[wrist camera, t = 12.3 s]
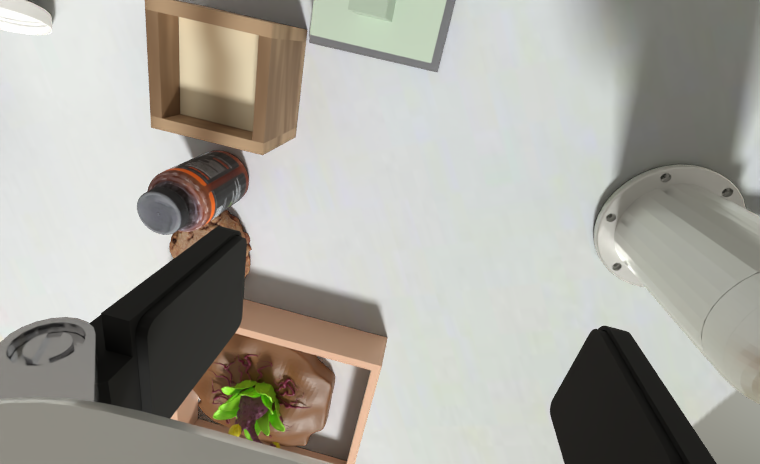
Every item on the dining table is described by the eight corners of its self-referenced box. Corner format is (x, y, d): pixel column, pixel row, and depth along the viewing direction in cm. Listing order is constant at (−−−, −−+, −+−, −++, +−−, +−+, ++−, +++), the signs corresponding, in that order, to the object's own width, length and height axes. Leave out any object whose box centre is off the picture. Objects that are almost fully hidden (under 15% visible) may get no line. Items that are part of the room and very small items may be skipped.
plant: (356, 362, 52) (334, 436, 42) (311, 447, 60) (284, 526, 50) (216, 301, 51) (160, 361, 41) (190, 396, 60) (139, 465, 50)
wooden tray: (387, 337, 49) (381, 366, 44) (351, 467, 60) (344, 500, 56) (191, 285, 50) (166, 307, 46) (192, 421, 61) (172, 450, 57)
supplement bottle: (195, 147, 42) (116, 176, 32) (247, 150, 42) (184, 181, 31) (204, 199, 45) (134, 242, 35) (254, 203, 44) (196, 248, 34)
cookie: (258, 215, 45) (246, 225, 42) (251, 290, 50) (240, 304, 47) (176, 194, 45) (159, 202, 43) (177, 270, 50) (161, 283, 47)
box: (307, 29, 36) (272, 23, 29) (295, 137, 40) (262, 155, 33) (204, 5, 36) (144, -7, 29) (203, 114, 41) (151, 127, 33)
